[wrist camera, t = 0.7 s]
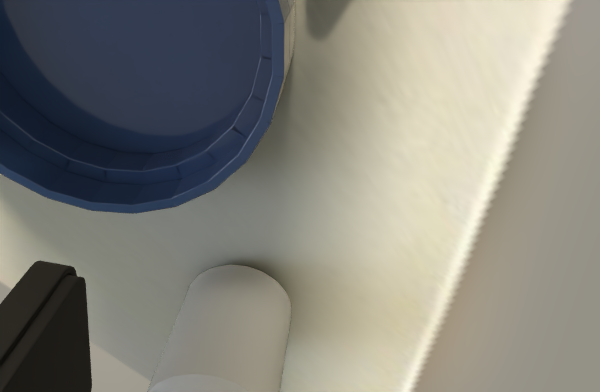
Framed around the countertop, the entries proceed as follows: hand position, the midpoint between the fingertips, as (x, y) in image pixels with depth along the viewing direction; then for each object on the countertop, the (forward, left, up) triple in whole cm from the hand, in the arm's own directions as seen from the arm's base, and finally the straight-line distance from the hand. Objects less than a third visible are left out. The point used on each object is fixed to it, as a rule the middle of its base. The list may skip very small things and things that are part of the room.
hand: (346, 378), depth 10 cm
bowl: (+7, -11, -24) cm, 27 cm away
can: (+21, +4, -24) cm, 32 cm away
